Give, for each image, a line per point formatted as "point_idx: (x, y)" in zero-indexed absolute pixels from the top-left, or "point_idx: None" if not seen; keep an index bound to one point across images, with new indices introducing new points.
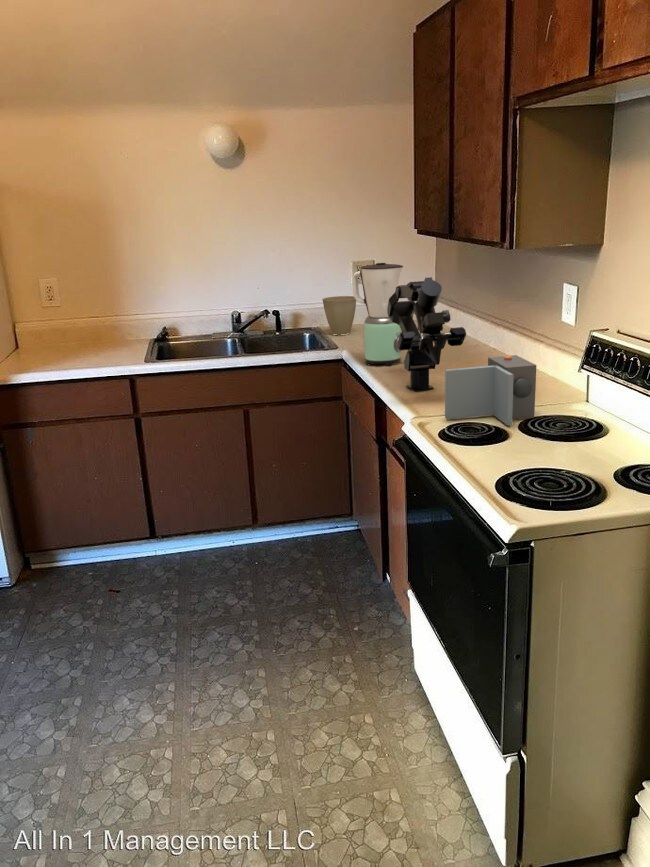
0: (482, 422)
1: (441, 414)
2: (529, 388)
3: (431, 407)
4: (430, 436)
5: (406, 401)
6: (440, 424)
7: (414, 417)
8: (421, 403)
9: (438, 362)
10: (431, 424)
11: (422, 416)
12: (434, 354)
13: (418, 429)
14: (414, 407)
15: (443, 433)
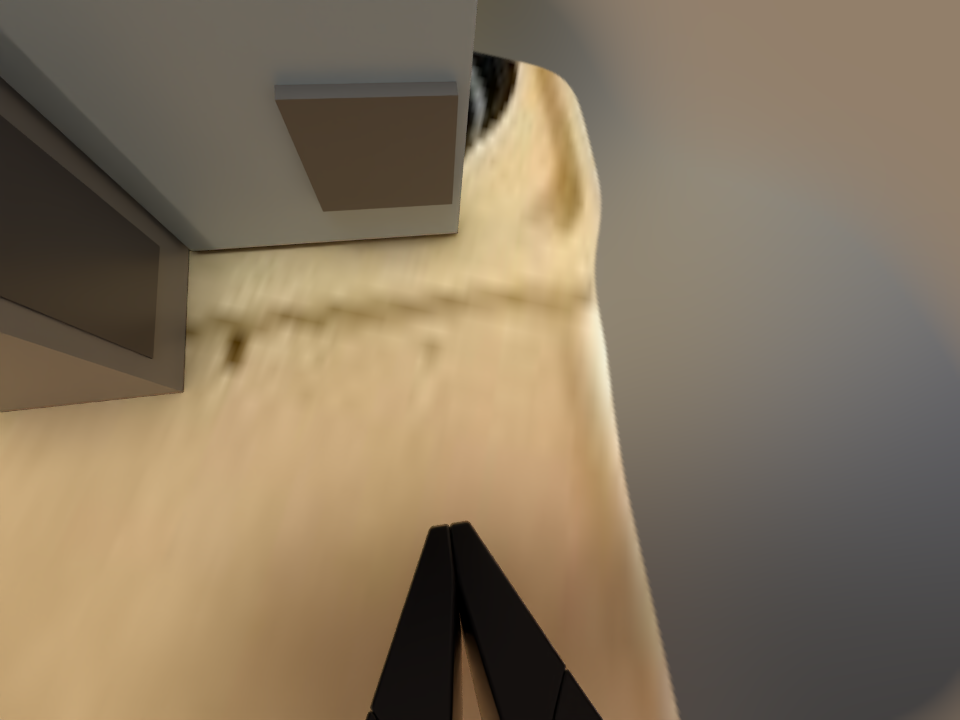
0: None
1: (457, 318)
2: None
3: (488, 452)
4: (545, 71)
5: (618, 615)
6: (487, 184)
7: (588, 299)
8: (533, 550)
9: (446, 524)
10: (524, 192)
11: (551, 306)
12: (507, 622)
13: (582, 148)
14: (578, 471)
15: (493, 88)
